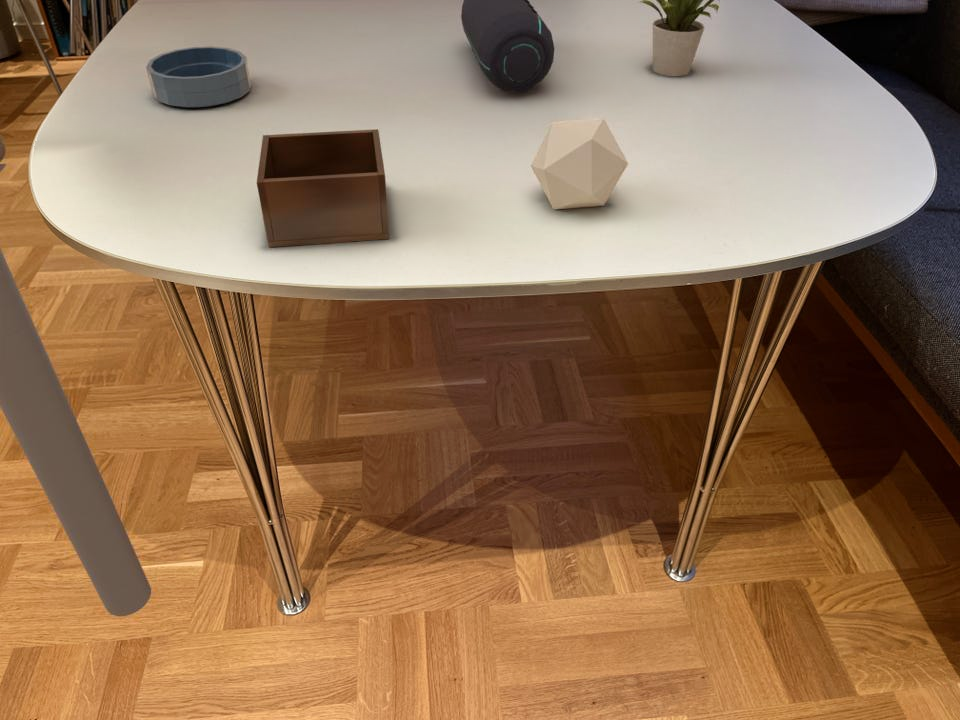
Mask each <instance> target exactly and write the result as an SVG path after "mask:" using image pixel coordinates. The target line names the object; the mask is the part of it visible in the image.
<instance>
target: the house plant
mask: <svg viewBox="0 0 960 720" xmlns="http://www.w3.org/2000/svg"><path fill="white" fill-rule="evenodd" d="M655 1H656V2H657V3H658V4H659V5H660V7H661V9H662V10H663V12H664V13H665V16H666V17H663V13H662V11H661V9H660V8H659V7H658V6H657V5H656V4H655V3H654V2H652V1H651V0H640V1H638V2H637V4H639V3H641V4H645V5H647V6H649V7H651V8H653V9H654V10H655V11H656V12H657V13H658V14H659V16H660V18H658V19H655V20H654V21H653V22H652V71H653V72H654V73H656V74H657V75H661V76H667V77H683V76H687V75H688V74H689V73H690V71H691V69H692V65H693V62H694V60H695V57H696V53H697V51H698V47H699V44H700V42H701V39H702V37H703V33H704V30H705V25H704V23H702V22H700V21H698V20H697V19H698V18H699V16H706V17H708V18H710V20H713V19H712V16H711V13H710V12H708V11H706V9H707V8H708V7H710V8H713V9H714V11H715V12H716V13H718V10H719V8H720V6H719V5H718V3H717V4H716V3H713V2H714V1H715V0H707V1H706V3H704V5H702V6H701V4H702V3H703V1H704V0H655ZM718 2H719V3H720V1H718Z"/></svg>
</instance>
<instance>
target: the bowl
mask: <svg viewBox="0 0 960 720" xmlns="http://www.w3.org/2000/svg"><path fill="white" fill-rule="evenodd" d="M248 64H249V63H248V58H247V56H246V55H245V54H244V53H243V52H241V51H239V50H237V49H233V48H230V47H221V46H212V45H211V46H192V47H185V48H178V49H174V50H170V51H167V52H164V53H160V54H158V55H156V56H155V57H152V58H151V59H149V60H148V63H147V64H146V66H145V69H146V72H147V76H148V80H149V84H150V88H151V92H152V95H153V97H154V98H155V99H156V100H157V101H158V102H160V103H162V104H165V105H168V106H172V107H179V108H190V109H191V108H193V109H194V108H195V109H196V108H197V109H198V108H208V107H209V108H210V107H216V106H221V105H223V104H228V103H231V102H233V101H235V100H237V99H241V98H242V97H244V96H245V95H246V94H248V93H249V92H251V86H252V82H251V81H252V80H251V76H250V75H251V74H250V69H249V65H248Z"/></svg>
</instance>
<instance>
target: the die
mask: <svg viewBox="0 0 960 720" xmlns="http://www.w3.org/2000/svg"><path fill="white" fill-rule="evenodd" d="M628 165H629V162H628V160H627V158H626V156H625V155H624V153H623V151H622V149H621V147H620V146H619V144H618V141H617V140H616V138H615V137H614V135H613V132H612V131H611V129H610V128H609V125H608V124H607V121H606V120H605V118H589V119H570V120H558V121H557V120H554V121H551V123H550V124H549V127H548V129H547V131H546V133H545V135H544V137H543V139H542V141H541V143H540V145H539V147H538V149H537V152H536V153H535V156H534V157H533V160H532V161H531V164H530V167H531V169H532V171H533V173H534V175H535V177H536V179H537V181H538V182H539V184H540V187H541V189H542V190H543V192H544V194H545V196H546V198H547V200H548V202H549V203H550V205H551V207H552V209H553V210H555V211H556V210H568V209H580V208H581V209H582V208H593V207H594V208H595V207H604V206H605V204H606V203H607V201H608V200H609V198H610V196H611V194H612V192H613V190H614V189H615V188H616V186H617V184H618V182H619V181H620V179H621V177H622V176H623V174H624V173H625V170H626V168H627V167H628Z"/></svg>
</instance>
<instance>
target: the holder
mask: <svg viewBox="0 0 960 720" xmlns="http://www.w3.org/2000/svg"><path fill="white" fill-rule="evenodd" d="M380 137H381V136H380V130H379V129H377V128H376V129H375V128H374V129H357V130H355V129H354V130H337V131H335V130H334V131H319V132H318V131H317V132H316V131H315V132H301V133H300V132H296V133H281V134H280V133H279V134H277V133H276V134H263V135H262V139H261V147H260V155H259V160H258V161H259V162H258V168H257V177H256V187H257V193H258V199H259V204H260V208H261V213H262V214H261V215H262V219H263V224H264V230H265V235H266V240H267V246H268V248H277V247H278V248H279V247H280V248H281V247H292V246H306V245H307V246H308V245H320V244H335V243H337V244H338V243H348V242H350V243H351V242H362V241H363V242H364V241H378V240H389V239H390V226H389V213H388V196H387V185H386V183H387V182H386V171H385V165H384V158H383V153H382V146H381V144H382V143H381V139H380Z"/></svg>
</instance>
